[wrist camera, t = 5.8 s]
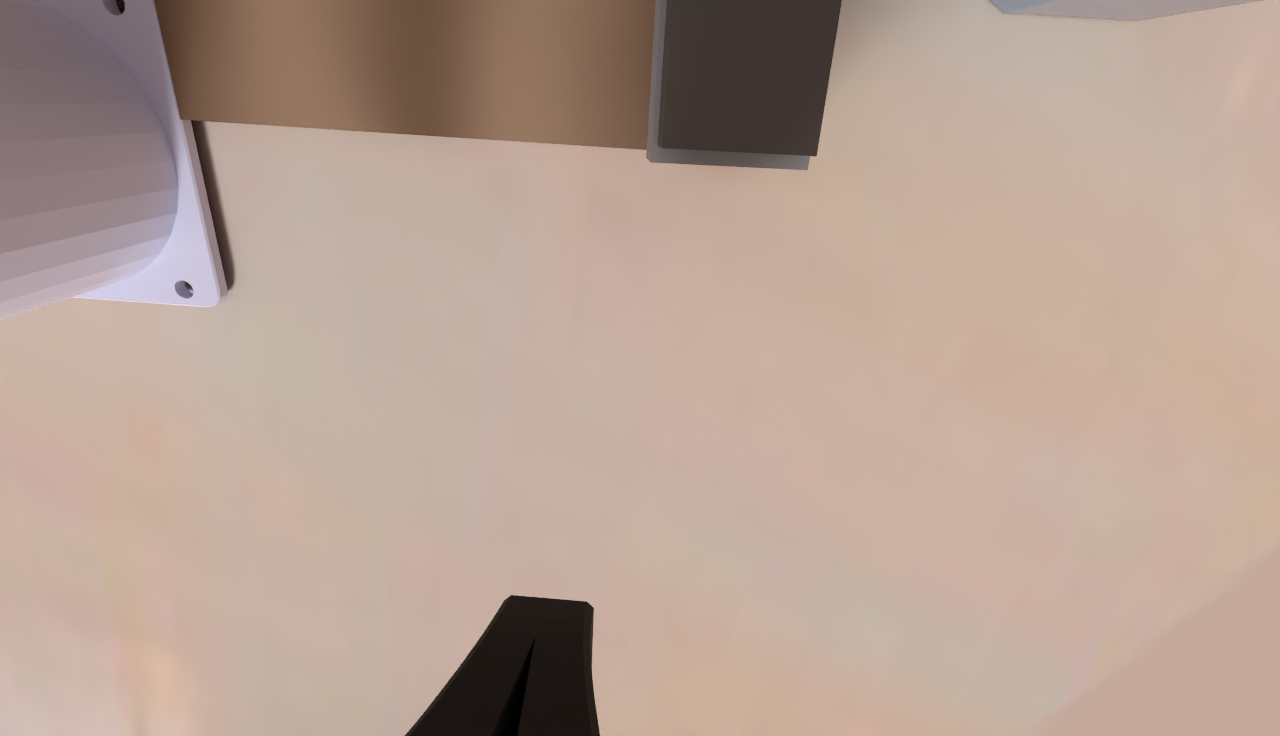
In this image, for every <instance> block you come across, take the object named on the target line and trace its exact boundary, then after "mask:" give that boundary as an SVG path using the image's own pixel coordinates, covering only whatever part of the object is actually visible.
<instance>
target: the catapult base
mask: <svg viewBox="0 0 1280 736" xmlns="http://www.w3.org/2000/svg"><path fill="white" fill-rule="evenodd" d="M655 2H656V0H154V3H155V7H156V12H157V16H158V21H159V25H160V30H161V34H162V39H163V43H164V48H165V52H166V57H167V61H168V66H169V70H170V75H171V79H172V84H173V88H174V93H175V97H176V102H177V106H178V111H179V115H180V119H181V120H196V121H212V122H227V123H243V124H258V125H273V126H289V127H304V128H320V129H335V130H351V131H366V132H382V133H397V134H412V135H428V136H443V137H459V138H474V139H490V140H505V141H520V142H536V143H551V144H567V145H582V146H598V147H613V148H629V149H644V150H647V139H648V122H649V105H650V88H651V71H652V53H653V36H654V19H655Z"/></svg>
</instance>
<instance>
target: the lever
mask: <svg viewBox="0 0 1280 736" xmlns="http://www.w3.org/2000/svg"><path fill="white" fill-rule="evenodd" d="M841 1H842V0H656V2H655V19H654V36H653V53H652V71H651V88H650V105H649V122H648V139H647V157H646V158H647V159H648V160H649V161H650V162H656V163H676V164H696V165H716V166H736V167H756V168H776V169H796V170H808V164H809V158H810V156H816V155H817V149H818V143H819V137H820V131H821V125H822V118H823V112H824V106H825V100H826V94H827V88H828V81H829V75H830V69H831V63H832V57H833V51H834V44H835V38H836V32H837V26H838V20H839V14H840V7H841Z"/></svg>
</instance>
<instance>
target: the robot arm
mask: <svg viewBox="0 0 1280 736" xmlns="http://www.w3.org/2000/svg"><path fill="white" fill-rule="evenodd" d="M124 3H125V11H124V12H123V14H122V13H121V12H120V11H119V9H118V6H117V1H116V0H0V321H1V320H5V319H8V318H11V317H14V316H17V315H20V314H23V313H26V312H29V311H32V310H35V309H38V308H41V307H44V306H47V305H50V304H53V303H56V302H59V301H62V300H65V299H68V298H71V297H75V298H88V299H102V300H115V301H129V302H143V303H156V304H170V305H183V306H197V307H212V306H215V305H217V304H219V303H221V302H223V301H224V300H225V298H226V296H227V286H226V281H225V276H224V272H223V267H222V262H221V258H220V253H219V249H218V244H217V239H216V235H215V230H214V226H213V221H212V216H211V212H210V207H209V202H208V198H207V193H206V189H205V184H204V179H203V175H202V170H201V165H200V161H199V156H198V152H197V147H196V142H195V138H194V133H193V128H192V124H191V120H181V119H180V115H179V111H178V106H177V102H176V97H175V93H174V88H173V84H172V79H171V75H170V70H169V66H168V61H167V57H166V52H165V48H164V43H163V39H162V34H161V30H160V25H159V21H158V16H157V12H156V7H155V3H154V0H124ZM185 281H186V282H188V283H189V284H190V285H191V286H192V288H193V293H191V292H190V291H188V290H187V288H186V286H185ZM593 611H594V608H593V607H592V606H591V605H590V604H589V603H588V602H584V601H572V600H560V599H549V598H537V597H525V596H514V595H511V596H510V597H508V598H507V599H506V600H504V602H503V604H502V605H501V607H500V608H499V610H498V612H497V613H496V615H495V616H494V618H493V619H492V621H491V622H490V624H489V626H488V627H487V629H486V630H485V632H484V633H483V634H482V636H481V637H480V639H479V640H478V642H477V643H476V645H475V646H474V647H473V649H472V650H471V652H470V653H469V654H468V656H467V657H466V659H465V660H464V661H463V663H462V664H461V665H460V667H459V668H458V670H457V671H456V672H455V673H454V675H453V676H452V677H451V679H450V680H449V681H448V683H447V684H446V685H445V686H444V688H443V689H442V690H441V692H440V693H439V694H438V696H437V697H436V698H435V699H434V701H433V702H432V703H431V705H430V706H429V707H428V708H427V710H426V711H425V712H424V713H423V715H422V716H421V717H420V718H419V720H418V721H417V722H416V723H415V724H414V726H413V727H412V728H411V729H410V730H409V732H408V733H407V734H406V735H405V736H600V733H599V727H598V720H597V713H596V706H595V699H594V691H593V681H592V639H593Z"/></svg>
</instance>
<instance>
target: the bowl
mask: <svg viewBox="0 0 1280 736" xmlns="http://www.w3.org/2000/svg"><path fill="white" fill-rule="evenodd" d="M988 1H989V2H990V3H992V4H993V5H994V6H995V7H996V8H998V9H999V10H1000V11H1001V12H1002V13H1004V14H1021V15H1039V16H1056V17H1073V18H1091V19H1108V20H1125V21H1141V20H1147V19H1153V18H1159V17H1165V16H1172V15H1178V14H1184V13H1190V12H1196V11H1202V10H1208V9H1214V8H1220V7H1226V6H1233V5H1239V4H1245V3H1251V2H1257V1H1263V0H988Z"/></svg>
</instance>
